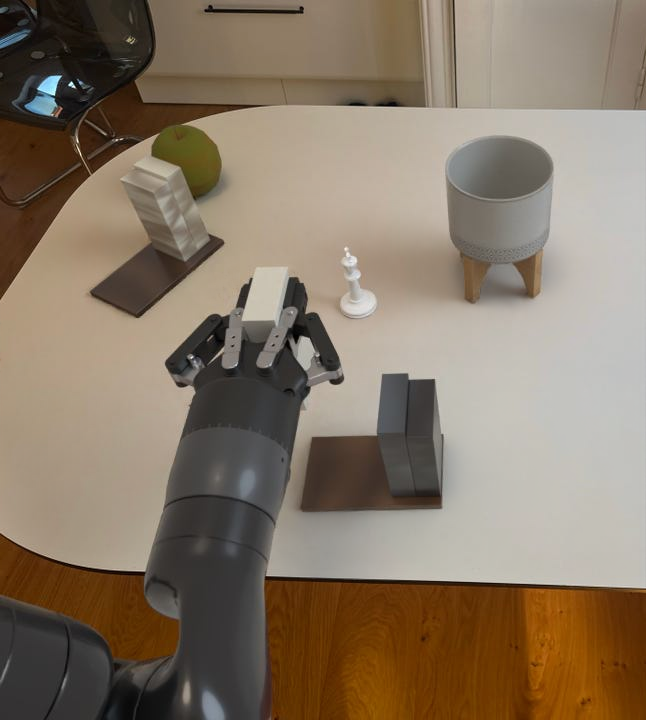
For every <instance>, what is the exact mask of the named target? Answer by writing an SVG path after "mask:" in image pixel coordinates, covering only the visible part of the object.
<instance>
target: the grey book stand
mask: <svg viewBox="0 0 646 720" xmlns="http://www.w3.org/2000/svg"><path fill="white" fill-rule="evenodd" d="M436 383H437V382H436V379H435V378H420V379H417V378H416V379H414V378H413V379H410V377H409V373H408V372H404V373H401V372H400V373H397V372H396V373H382V374H381V383H380V392H379V404H378V405H379V406H378V413H377V423H376V424H377V425H376V435H336V436H335V435H334V436H332V435H331V436H330V435H329V436H311V441H310V445H309V446H310V447H309V453H308V459H307V465H306V470H305V476H304V483H303V484H304V485H303V489H302V496H301V501H300V506H299V507H300V510H301V512H303V513H304V512H346V511H383V510H385V511H386V510H387V511H389V510H391V511H392V510H427V509H428V510H429V509H432V510H433V509H443V492H444V491H443V490H444V449H445V448H444V445H445V443H444V442H445V437H444V433H442V427H441V418H440V410H439V402H438V393H437V385H436Z"/></svg>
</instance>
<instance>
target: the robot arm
mask: <svg viewBox="0 0 646 720" xmlns="http://www.w3.org/2000/svg"><path fill="white" fill-rule="evenodd" d="M252 280H253V277H250V278H249V281H248V283H244V284H243V285H242V286H241V287H240V289H239V290H240V291H239V294H238V298H237V300H236V305H235V308H233V309H231V311H230V313H229V314H227V315H223V316H221V314H219V313H211V314H209V315H208V316H207V317H206V318H205V319H204V320H203V321H202V322H201V323H200V324H199V325H198V326H197V328H195V329H194V330H193V331H192V332H191V333H190V335H188V336H187V337H186V339H185V340H183V342H182V343H181V344H180V345H179V346H178V347H177V348H176V349H175V350H174V351H173V352H172V353H171V354H170V355H169V356H168V357H167V359H166V360H165V361H164V366H165V368H166V369H167V372H168V374H169V376H170V378H171V379H172V381H173V382H174V384H175V386H176V387H178V388H181V389H184V388H187V387H188V386H189V387H192V388H193V389H194V392H195V393H194V394H193V397H192V399H191V403H190V406H189V409H188V412H187V414H186V415H187V416H186V418H185V422H184V425H183V428H182V431H181V435H180V437H179V438H180V439H179V441H178V444H177V445H178V446H177V449H176V451H175V455H174V457H173V462H172V464H171V467H170V471H169V475H168V479H167V485H166V492H165V498H164V504H163V508H162V513H161V516H160V519H159V522H158V526H157V528H156V532H155V536H154V538H153V542H152V545H151V548H150V552H149V556H148V559H147V563H146V567H145V572H144V578H143V582H142V583H143V584H142V592H143V596H144V600H145V602H146V603H147V604H148V606H149V607H150V608H151V609H152V610H153V611H155V612H156V613H157V614H159V615H161V616H163V617H165V618H167V619H170V620H174V621H178V640H177V643H176V644H177V645H176V648H175V652H174V653H173V654H167V655H163V656H158V657H153V658H152V657H151V658H148V659H143V660H135V659H132V660H131V659H124V658H118V657H113V653H112V649H111V647H110V645H109V643H108V641H107V640H106V639H105V637H104V636H103V635H102V634H101V633H100V632H99V631H98V630H97V629H95V628H94V627H92V626H91V625H89V624H87V623H86V622H83V621H81V620H78V619H77V618H74V617H72V616H69V615H65V614H63V613H60V612H57V611H54V610H51V609H48V608H44V607H41V606H38V605H35V604H32V603H29V602H26V601H22V600H20V599H15V598H13V597H9V596H6V595H3V594H0V720H271V719H272V713H273V706H274V705H273V703H274V687H273V685H274V683H273V673H272V662H271V661H272V660H271V650H270V639H269V625H268V615H267V605H266V595H265V594H266V593H265V582H266V577H267V572H268V568H269V567H268V566H269V561H270V556H271V551H272V546H273V541H274V534H275V529H276V525H277V521H278V518H279V515H280V512H281V510H282V507H283V504H284V500H285V497H286V491H287V487H288V484H289V482H290V480H291V473H292V469H291V464H292V459H293V454H294V447H295V443H296V436H297V431H298V425H299V421H300V415H301V411H300V408H301V404H302V402H303V401H304V399H305V398H306V397H307V396H308V394H309V393H310V394H311V389H312V387H314V386H317V385H319V384H323V383H325V382H329V384H331V385H332V386H340V385H341V384H342V383H343V382H344V381H345V374H344V371H343V366H342V363H341V359H340V356H339V354H338V352H337V350H336V347H335V346H334V344H333V342H332V340H331V337H330V335H329V332H328V331H327V329H326V328H325V325H324V323H323V321H322V319H321V316H320V315H319V314H318V313H317V312H315V311H311V312H307V308H308V303H309V297H308V293H307V290H306V286H305V284H304V282H301V281H300V279H299V277H298V276H290V277H289V280H288V284H287V289H286V293H285V297H284V302H283V306H282V307H283V312H282V314H281V317H280V319H279V322H278V326H273V328H272V330H271V332H270V335H269V337H268V340H267V341H265V342H260V343H255V342H250V341H249V338H248V336H247V334H246V331H245V328H244V326H243V324H242V321H241V320H242V316H243V313H244V309H245V305H246V302H247V298H248V294H249V291H250V287H251V283H252ZM302 336H303V337H307V338H309V340H310V343H311V346H312V349H313V351H314V352H313V353H314V354H313V355H314V356H313V357H312V358H311V366H310V368H309V369H308V370H306V371H305V370H304V369H303V367H302V366H301V365H300V363H299V362H298V361H297V356H298V346H299V344H300V341H301V338H302ZM222 349H223V351H222ZM221 351H222V352H221ZM220 352H221V353H220ZM219 353H220V354H219ZM218 354H219V355H218ZM310 394H309V395H310Z"/></svg>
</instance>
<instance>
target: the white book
mask: <svg viewBox="0 0 646 720" xmlns="http://www.w3.org/2000/svg"><path fill="white" fill-rule="evenodd" d="M289 277H291V276H290V272H289V268H288V266H259V267H255V270H254V273H253V276H252V278H253V280H252V283H251V287H250V291H249V294H248V298H247V302H246V305H245V309H244V313H243V316H242V320H241V321H242V324H243V326H244V328H245V331H246V334H247V336H248V338H249V341H250V342H255V343H260V342H265V341H267V340H268V337H269V335H270V332H271V330H272V328H273V326H278V322H279V319H280V317H281V314H282V312H283V307H282V306H283V302H284V297H285V293H286V289H287V284H288V280H289ZM314 353H315V352H314V348H313V345H312V343H311V341H310V338H307V337H303V336H302V338H301V341H300V344H299V346H298V356H297V361H298V362H299V363H300V365H301V366H302V367H303V369H304V370H305V371H306V370H308V369H309V368H310V366H311V358H312V357H313V356H314V355H313V354H314ZM310 394H311V392H310V393H309V394H308V396H307V397H306V398H305V399H304V401H303V402H302V404H301V408H300V412H301V411H307V410H308V404H309V399H310Z"/></svg>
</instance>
